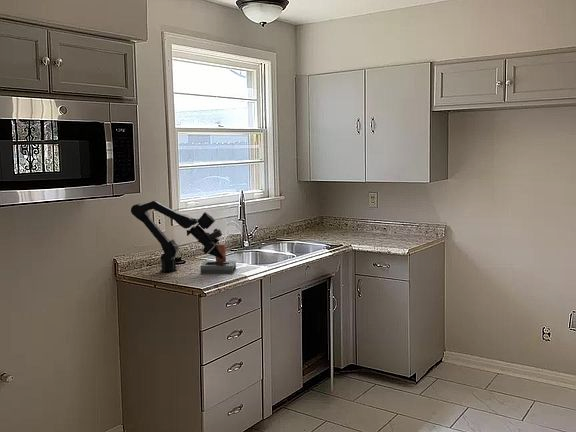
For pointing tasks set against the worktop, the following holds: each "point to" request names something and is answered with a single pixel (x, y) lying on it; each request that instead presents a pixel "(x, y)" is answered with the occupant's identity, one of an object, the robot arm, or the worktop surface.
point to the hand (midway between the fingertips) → (223, 257)
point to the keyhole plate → (217, 267)
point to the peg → (222, 250)
